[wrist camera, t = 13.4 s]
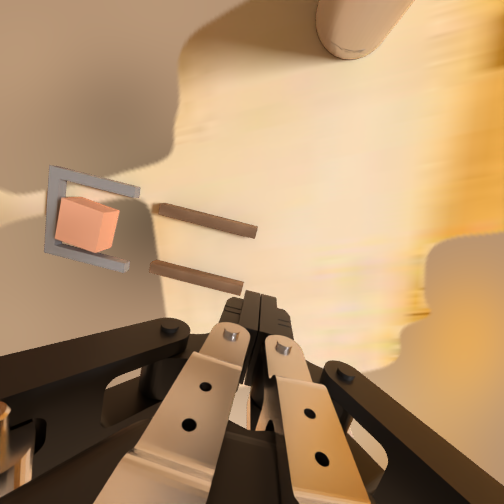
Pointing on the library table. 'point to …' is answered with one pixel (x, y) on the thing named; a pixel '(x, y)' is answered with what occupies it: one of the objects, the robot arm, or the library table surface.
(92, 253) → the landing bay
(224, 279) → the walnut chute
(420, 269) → the library table surface
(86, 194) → the library table surface
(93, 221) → the terracotta block
